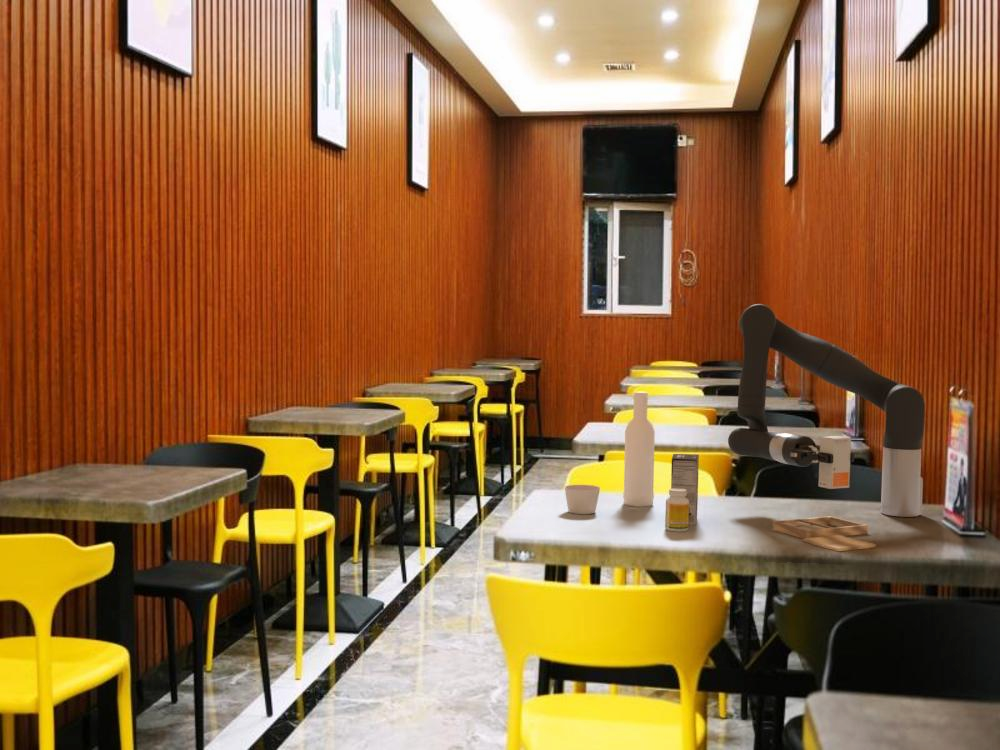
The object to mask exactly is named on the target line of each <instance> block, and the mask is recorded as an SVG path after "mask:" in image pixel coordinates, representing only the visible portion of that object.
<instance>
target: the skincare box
mask: <svg viewBox="0 0 1000 750" xmlns="http://www.w3.org/2000/svg"><path fill="white" fill-rule="evenodd" d="M819 439H820V440H819V445H820V452H823V453H829V454H833V463H830V464H829V463H824V462H818V463H819V464H818V486H817V487H820V488H824V489H829V490H834V489H849V488H850V474H851V462H850V455H851V452H852V451H851V448H852V437H851V436H843V435H828V436H826V435H825V436H820V437H819Z"/></svg>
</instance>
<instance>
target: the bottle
mask: <svg viewBox="0 0 1000 750" xmlns="http://www.w3.org/2000/svg"><path fill="white" fill-rule="evenodd" d="M632 399H633V418H632V419H631V420H630V421H628V423H627V425H626V427H625V431H624V470H623V471H624V472H623V473H624V474H623V476H624V477H623V493H622V494H623V496H622V497H623V505H625V506H631V507H635V508H636V507H638V508H639V507H640V508H641V507H643V508H644V507H651V506H653V505H654V497H655V495H654V494H655V493H654V481H655V480H654V479H655V476H654V475H655V441H656V440H655V439H656V437H655V434H656V432H655V428H654V424H653V423H652V422H651V421H650V419H648V400H649V395H648V392H647V391H634V393H633V398H632Z"/></svg>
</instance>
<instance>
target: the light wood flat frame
mask: <svg viewBox="0 0 1000 750" xmlns="http://www.w3.org/2000/svg"><path fill="white" fill-rule="evenodd" d="M868 530H869V525H868V524H864V523H861V522H856V521H852V520H848V519H845V518H844V519H843V518H839V517H837V516H831V515H829V516H828V515H827V516H815V517H808V518H807V517H806V518H797V519H786V520H785V519H784V520H773V521H772V531H775V532H778V533H781V534H786V535H790V536H793V537H797V538H799V539H804V538H813V537H822V536H832V535H842V536H846V537H848V536H849V537H850V536H857V535H867V534H868V532H869V531H868Z"/></svg>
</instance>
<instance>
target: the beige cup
mask: <svg viewBox="0 0 1000 750" xmlns="http://www.w3.org/2000/svg"><path fill="white" fill-rule="evenodd" d="M564 492H565V500H566V504H567V505H566V506H567V511H568V512H569V513H571V514H575V515H592V514H594V513H596V512H597V506H598V500H599V495H600V492H601V488H600V486H597V485H591V484H569V485H566V486H564Z"/></svg>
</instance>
